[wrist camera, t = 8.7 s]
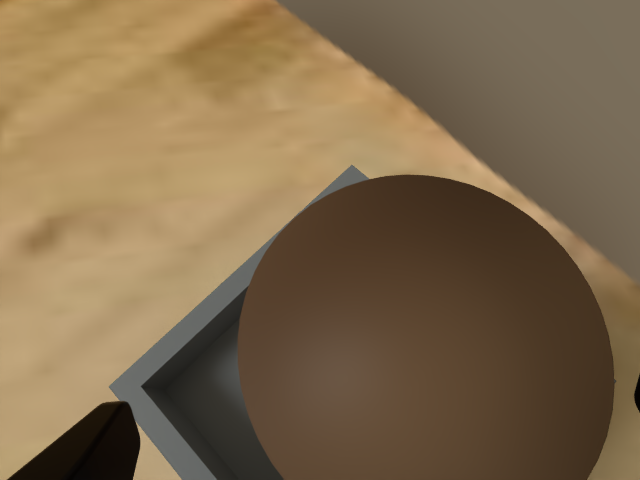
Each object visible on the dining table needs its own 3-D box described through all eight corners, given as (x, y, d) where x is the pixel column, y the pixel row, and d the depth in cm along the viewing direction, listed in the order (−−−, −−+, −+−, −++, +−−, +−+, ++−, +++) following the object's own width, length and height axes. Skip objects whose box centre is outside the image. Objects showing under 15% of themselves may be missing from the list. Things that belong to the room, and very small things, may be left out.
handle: (479, 388, 17) (824, 331, 5) (361, 535, 16) (480, 945, 4) (351, 272, 19) (393, 35, 7) (232, 391, 18) (26, 340, 5)
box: (571, 386, 18) (616, 380, 15) (366, 666, 15) (376, 724, 12) (348, 197, 21) (351, 164, 19) (141, 391, 18) (108, 386, 15)
